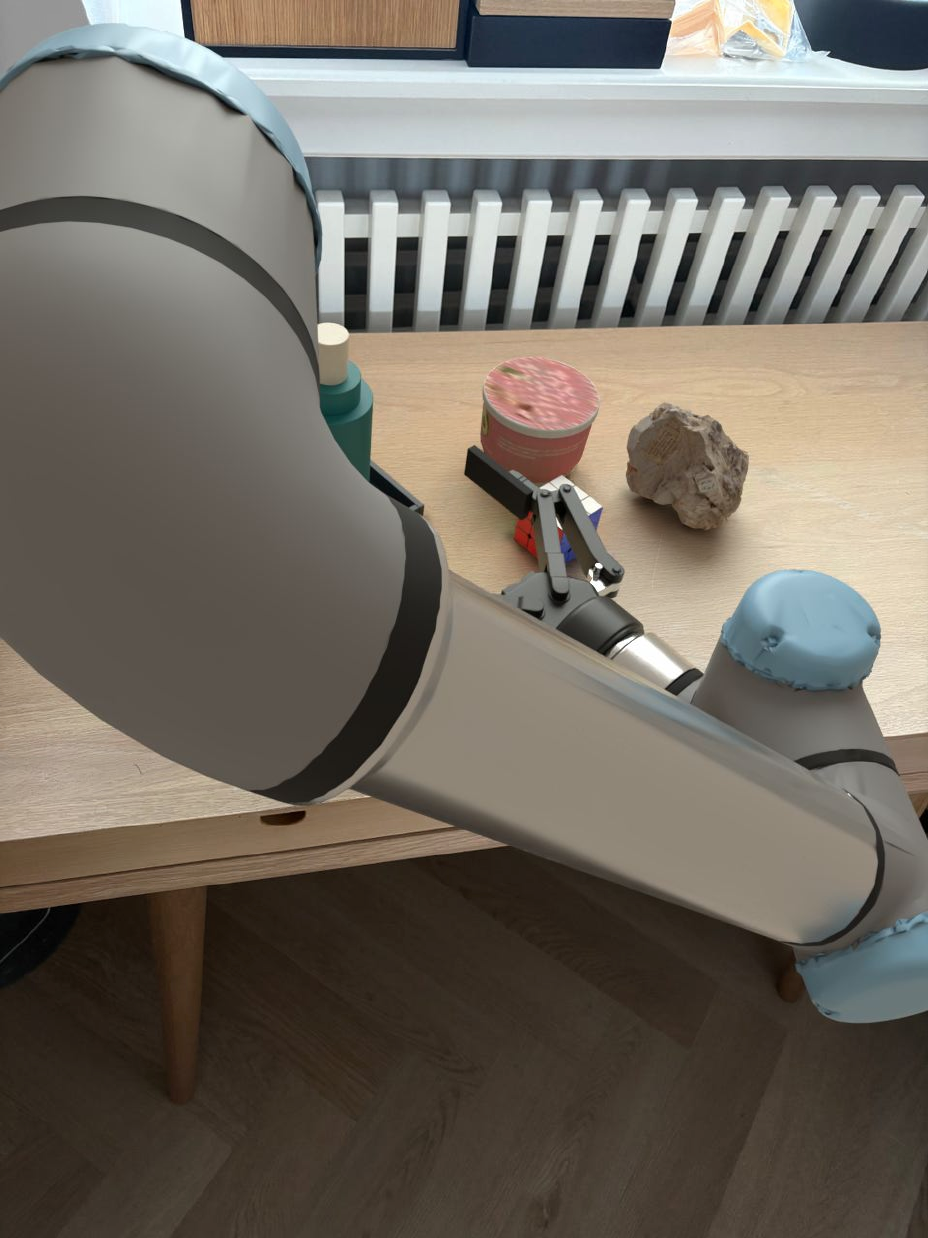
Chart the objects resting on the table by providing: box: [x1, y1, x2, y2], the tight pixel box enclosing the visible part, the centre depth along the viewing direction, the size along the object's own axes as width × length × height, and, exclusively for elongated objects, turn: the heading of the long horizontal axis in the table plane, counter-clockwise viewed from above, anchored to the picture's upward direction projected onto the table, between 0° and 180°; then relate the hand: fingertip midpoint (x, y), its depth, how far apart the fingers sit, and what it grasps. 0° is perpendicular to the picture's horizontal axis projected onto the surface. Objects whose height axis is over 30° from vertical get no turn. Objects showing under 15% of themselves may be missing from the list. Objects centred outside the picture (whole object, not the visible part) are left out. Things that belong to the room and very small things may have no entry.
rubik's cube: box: [513, 475, 604, 565], centre depth 88 cm, size 5×5×5 cm
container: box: [479, 356, 601, 488], centre depth 94 cm, size 10×10×8 cm
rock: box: [625, 402, 750, 531], centre depth 92 cm, size 9×12×10 cm
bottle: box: [317, 322, 374, 482], centre depth 82 cm, size 7×7×19 cm
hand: (403, 495), depth 77 cm, fingers open, 13 cm apart
